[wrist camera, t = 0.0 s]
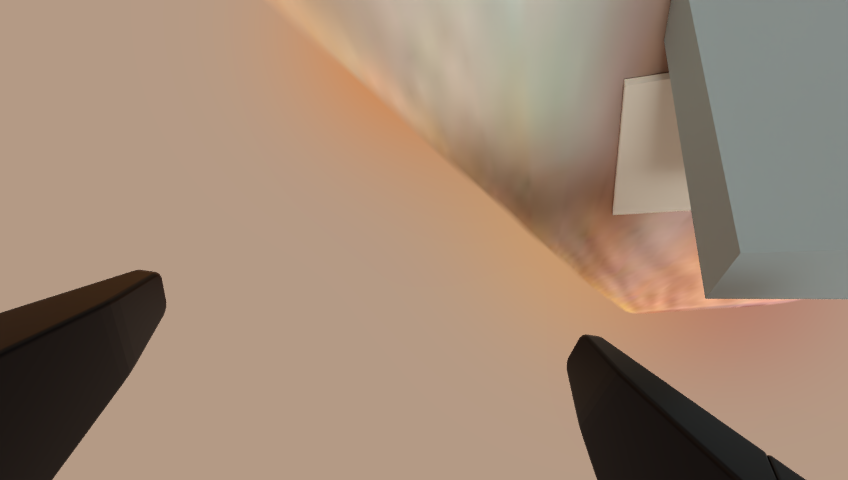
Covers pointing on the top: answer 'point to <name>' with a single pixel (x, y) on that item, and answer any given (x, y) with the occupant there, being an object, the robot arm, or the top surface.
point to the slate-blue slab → (764, 143)
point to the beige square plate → (649, 150)
